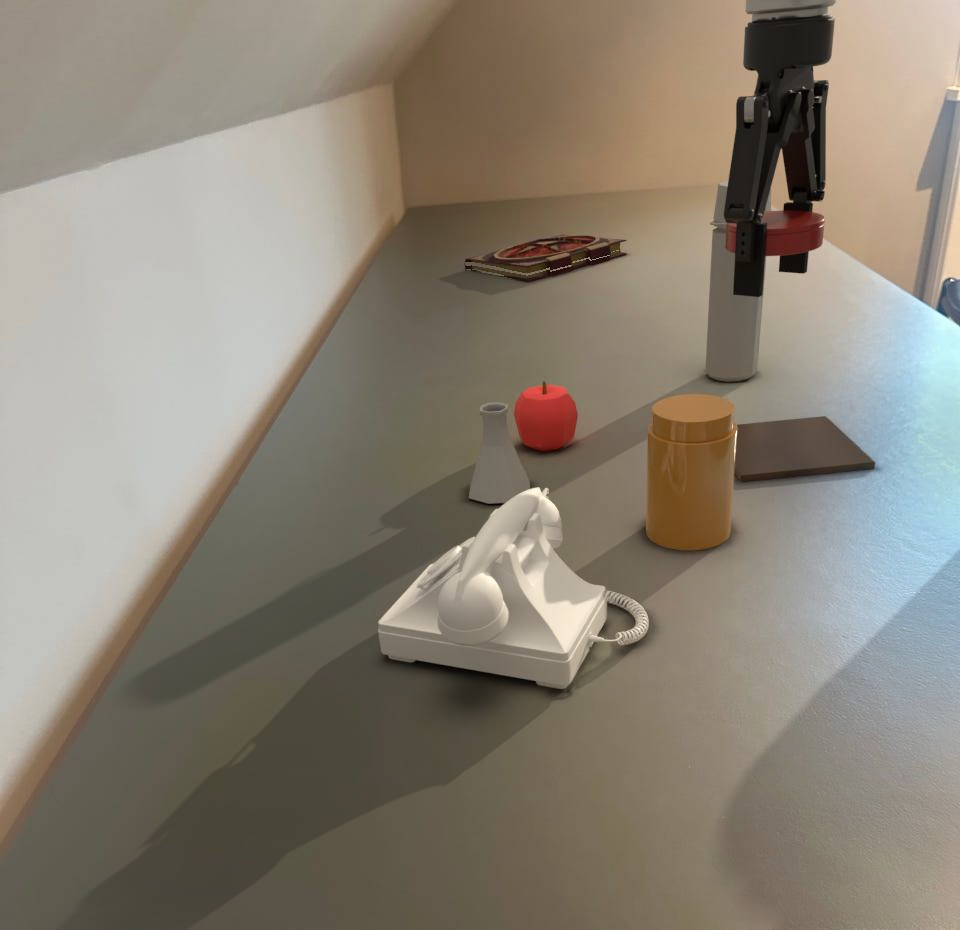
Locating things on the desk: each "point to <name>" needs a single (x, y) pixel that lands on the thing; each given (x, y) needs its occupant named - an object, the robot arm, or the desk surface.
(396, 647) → the telephone
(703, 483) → the jar
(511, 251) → the book
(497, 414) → the flask
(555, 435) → the apple
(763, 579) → the desk surface
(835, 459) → the pad
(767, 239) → the lid
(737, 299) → the water bottle
